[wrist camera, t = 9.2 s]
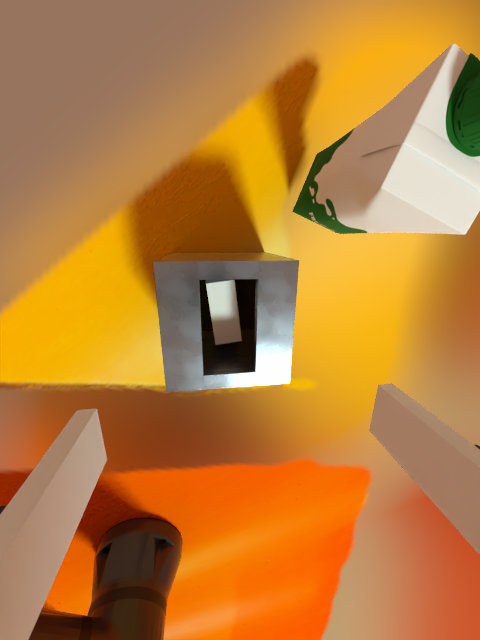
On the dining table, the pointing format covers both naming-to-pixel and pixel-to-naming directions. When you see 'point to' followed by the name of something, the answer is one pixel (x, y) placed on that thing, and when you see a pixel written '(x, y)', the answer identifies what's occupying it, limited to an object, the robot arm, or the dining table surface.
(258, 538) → the dining table surface
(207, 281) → the white rectangular block
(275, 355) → the grey open box
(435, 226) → the milk carton
